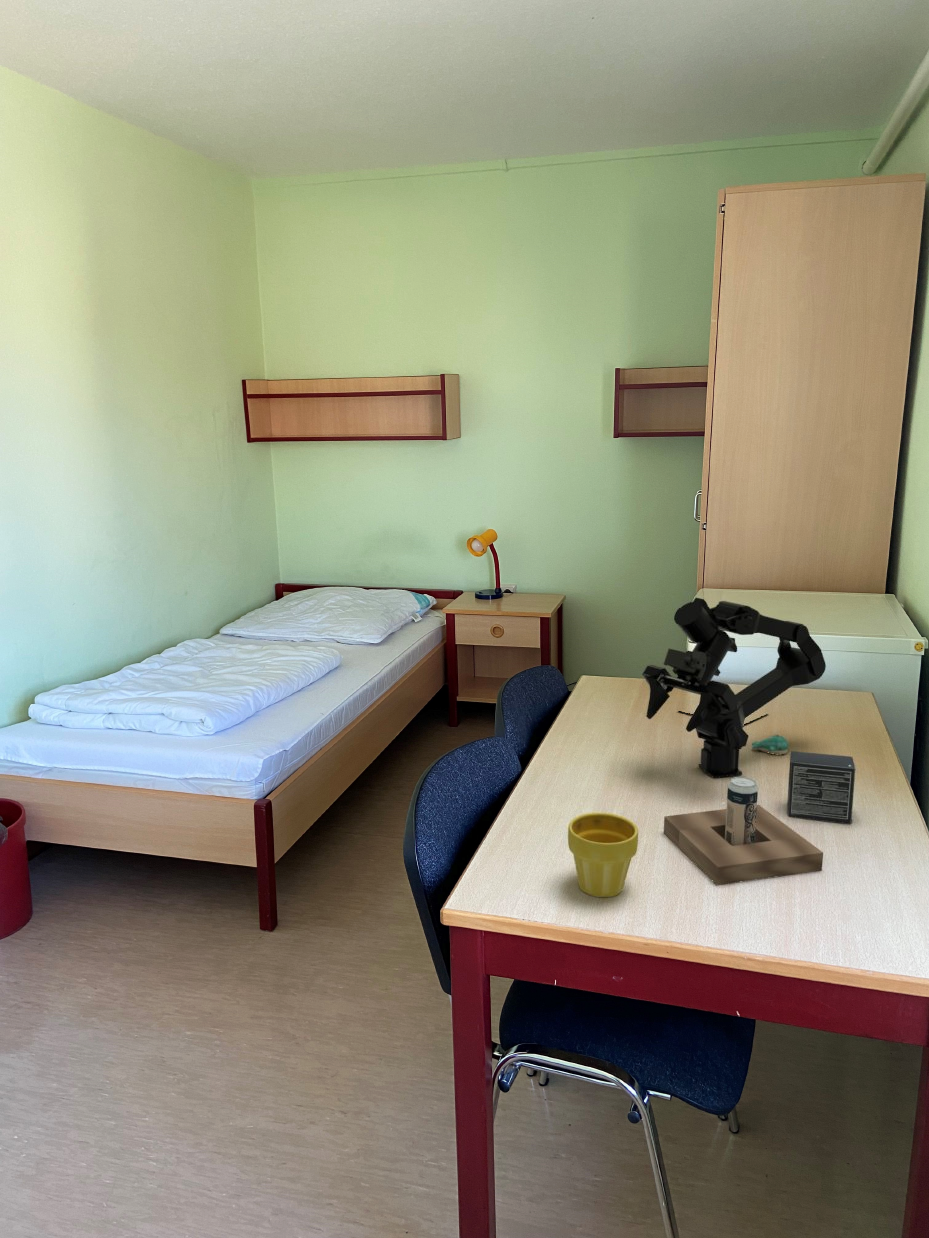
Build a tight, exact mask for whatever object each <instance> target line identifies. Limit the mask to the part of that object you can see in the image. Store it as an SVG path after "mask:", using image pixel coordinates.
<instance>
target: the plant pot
mask: <svg viewBox="0 0 929 1238" xmlns="http://www.w3.org/2000/svg"><path fill="white" fill-rule="evenodd" d="M567 831H568V832H567V842H568V845H567V846H568V849H569V851H570V852H571V853H572V855H573V860H574V864H575V871H576V875H577V876H576V877H577V881H578V886H579V888H580V891H581V890H582V892H583V893H585V894H587V895H588V896H589V895H590V896H592V897H596V898H612V897H616V896H617V895H619V894H620V893H622V891H623V889H624V886H625V882H626V878H627V875H628V872H629V868H630V864H631V861H632V858H633V857H634V856H636V853H638V844H639V829H638V826H637V825H636V824H635V823H634V822H633V821H632V820H630V819H629V818H627V817H624V816H622V815H618V814H614V813H609V812H608V813H607V812H590V813H589V812H588V813H583V814H581V815H578V816H576V817H574V818H573V819H572V820H571V821H570V822H569V824H568V830H567Z"/></svg>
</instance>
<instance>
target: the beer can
mask: <svg viewBox="0 0 929 1238" xmlns="http://www.w3.org/2000/svg"><path fill="white" fill-rule="evenodd" d="M726 791H727V792H726V796H727V797H726V808H725V809H726V825H725V840H726V841H727V842H728V843H729V844H730V845H731V846H736V845H744V844H751V843H754V841H755V826H756V812H757V805H758V794H759V786H758V784H757V782H756V781H755V780H754V779H753V778H750V777H745V776H734V777H732V778H731V779H730V780H729V782H728V784H727V790H726Z"/></svg>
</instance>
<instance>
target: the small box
mask: <svg viewBox="0 0 929 1238" xmlns="http://www.w3.org/2000/svg"><path fill="white" fill-rule="evenodd" d="M789 758H790V759H789V771H788V790H787V804H786V808H787V809H786V811H787V816H788V817H789V818H796V819H802V820H803V819H805V820H811V821H812V820H813V821H814V820H815V821H822V822H831V823H839V824H847V825H851V824H853V805H854V791H855V779H856V769H857V768H856V765H855V762H854V757H853V756H849V755H838V754H827V753H818V752H817V753H815V752H807V751H806V752H804V751H796V750H795V751H794V750H791V751H790V757H789Z"/></svg>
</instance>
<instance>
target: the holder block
mask: <svg viewBox="0 0 929 1238" xmlns="http://www.w3.org/2000/svg"><path fill="white" fill-rule="evenodd" d="M725 825H726V808H723V809H714V810H707V811H698V812H689V813H682V814H673V815H665V816H664V818H663V834H664V835H666V837H668V839H670V840H671V842H672V843H673V844H675V846H677V847H678V849H679V850H680V851H682V852H683V853H684V854H685V855H686V857H688V858H689V859H690V860H691V861H692V862H693V863H694V864H695V865H696V866H697V867H698V868H699V869H700V870H701V871H702V872H703V873H704V874H705V875H706V876H707V877H708V878H709V879H710V880H711V881H712V880H713V881H712V882H713V883H714V882H715V883H714V885H716V886H721V885H728V883H729V884H734V883H735V882H736V883H741V882H740V881H743V882H746V881H745V880H750V881H756V880H755V879H757V880H762V878H764V879H769V878H768V877H771V878H776V877H775V876H778V877H784V876H791V875H792V876H793V875H798V874H799V875H800V874H804V873H805V874H806V873H813V872H821V871H823V860H824V851H822V850H820V849H819V848H818V847H817V846H815V845H814V844H812V843H811V842H810V841H809V840H807V839H806V838H805V837H803V836H801V835H800V834H799V833H797V832H796V831H795V830H794V829H792V828H791V827H789V825H787V824H786V823H784V822H783V821H781V820H780V819H779V818H777V817H776V816H775V815H774V814H772V813H771V812H770V811H768V809H765V808H764V807H762V806H761V805H760V804H757V812H756V826H755V841H754V843H751V844H744V845H736V846H731V845H730V844H729V843H728V842H727V841H726V840H725Z"/></svg>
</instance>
